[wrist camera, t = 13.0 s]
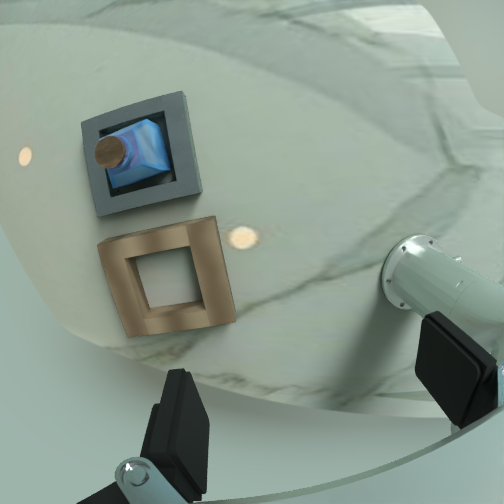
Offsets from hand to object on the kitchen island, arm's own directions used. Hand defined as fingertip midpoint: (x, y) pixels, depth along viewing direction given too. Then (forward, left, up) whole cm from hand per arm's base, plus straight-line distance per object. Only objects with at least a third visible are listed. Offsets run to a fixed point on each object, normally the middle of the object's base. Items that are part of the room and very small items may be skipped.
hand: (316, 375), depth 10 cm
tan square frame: (+13, +5, -30) cm, 33 cm away
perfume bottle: (+13, -12, -31) cm, 35 cm away
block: (+13, -12, -30) cm, 35 cm away
